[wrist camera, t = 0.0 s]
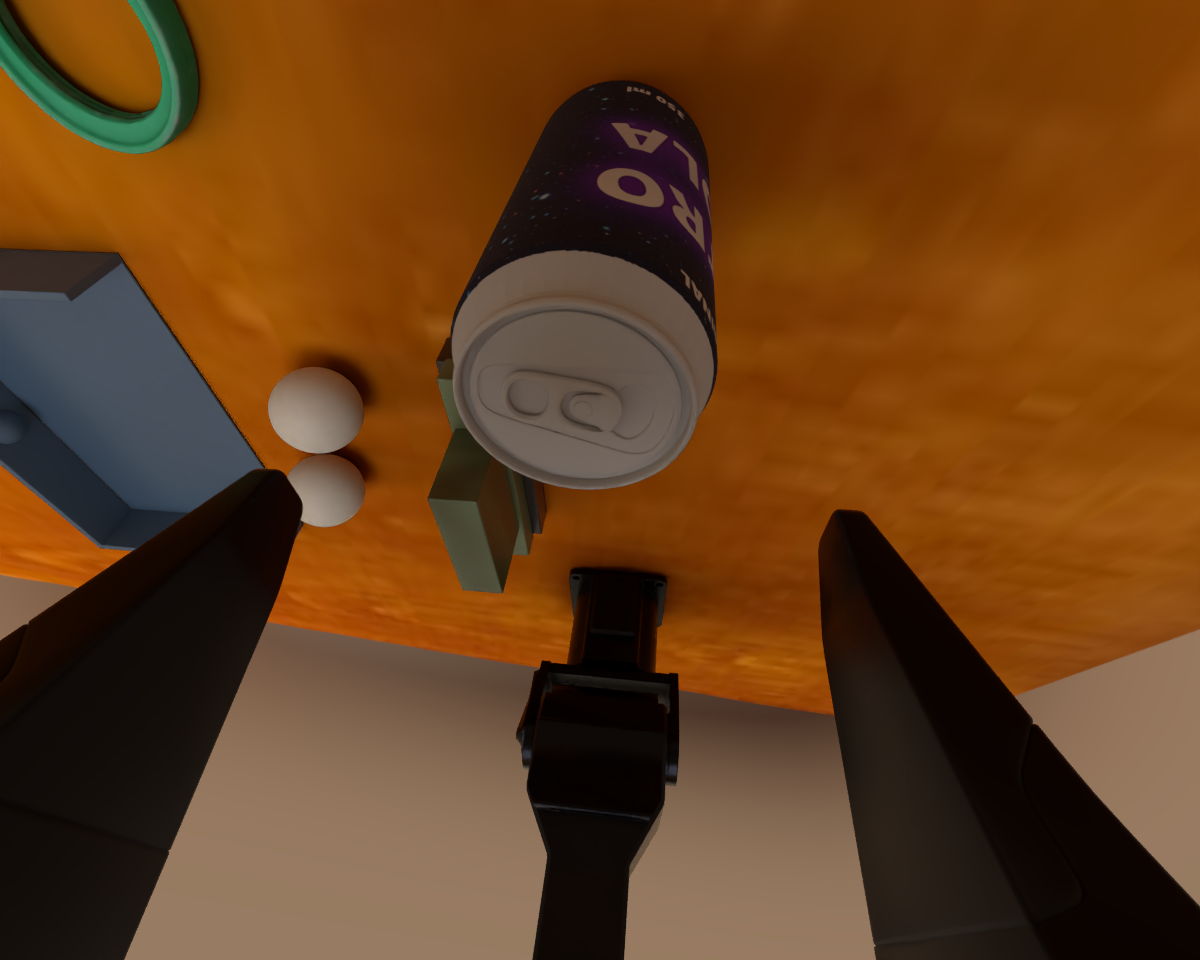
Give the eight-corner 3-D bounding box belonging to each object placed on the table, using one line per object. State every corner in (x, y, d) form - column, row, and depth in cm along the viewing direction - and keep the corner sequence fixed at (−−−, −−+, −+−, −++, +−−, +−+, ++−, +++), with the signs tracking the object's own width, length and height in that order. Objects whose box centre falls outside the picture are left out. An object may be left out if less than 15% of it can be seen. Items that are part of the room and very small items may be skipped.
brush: (521, 337, 25) (481, 455, 20) (547, 513, 34) (523, 621, 29) (445, 333, 25) (388, 449, 20) (491, 509, 34) (459, 616, 30)
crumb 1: (386, 415, 29) (356, 473, 27) (312, 411, 30) (275, 468, 27) (360, 351, 26) (323, 409, 24) (278, 347, 27) (233, 403, 24)
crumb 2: (384, 488, 34) (358, 544, 31) (320, 484, 34) (290, 538, 32) (362, 441, 31) (331, 497, 28) (292, 436, 31) (256, 492, 29)
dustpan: (117, 253, 24) (63, 292, 22) (303, 524, 38) (281, 564, 36) (-342, 235, 26) (-432, 271, 24) (-2, 500, 40) (-39, 536, 38)
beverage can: (683, 266, 21) (677, 519, 14) (534, 237, 21) (441, 477, 13) (731, 92, 17) (764, 315, 9) (545, 53, 17) (417, 249, 9)
